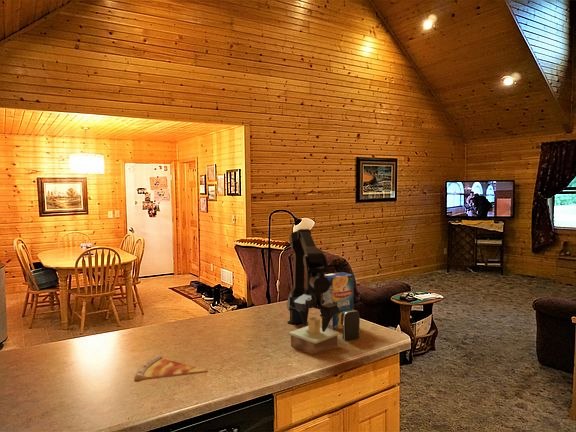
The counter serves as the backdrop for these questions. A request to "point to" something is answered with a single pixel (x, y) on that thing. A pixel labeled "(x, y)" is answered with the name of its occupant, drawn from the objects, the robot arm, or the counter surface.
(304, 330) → the lid
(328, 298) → the beverage box
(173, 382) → the counter surface
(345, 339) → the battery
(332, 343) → the box
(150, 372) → the pizza slice
